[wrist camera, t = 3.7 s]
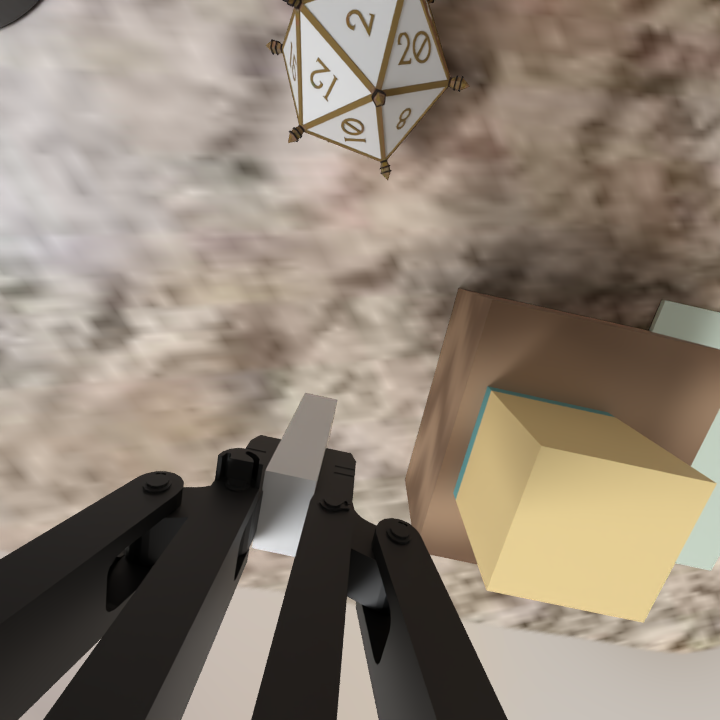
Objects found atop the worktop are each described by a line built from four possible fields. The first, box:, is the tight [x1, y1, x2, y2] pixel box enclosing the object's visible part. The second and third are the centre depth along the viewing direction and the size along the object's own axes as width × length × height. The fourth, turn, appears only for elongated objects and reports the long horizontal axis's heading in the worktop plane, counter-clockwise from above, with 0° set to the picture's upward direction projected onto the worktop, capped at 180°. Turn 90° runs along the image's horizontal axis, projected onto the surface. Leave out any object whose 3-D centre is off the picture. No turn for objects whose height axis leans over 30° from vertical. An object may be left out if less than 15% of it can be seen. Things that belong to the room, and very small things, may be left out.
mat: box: [649, 300, 720, 571], centre depth 26 cm, size 18×11×1 cm, turn 168°
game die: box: [266, 0, 470, 180], centre depth 18 cm, size 9×8×10 cm
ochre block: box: [453, 386, 717, 623], centre depth 16 cm, size 6×6×6 cm
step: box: [405, 289, 720, 564], centre depth 22 cm, size 14×12×7 cm
